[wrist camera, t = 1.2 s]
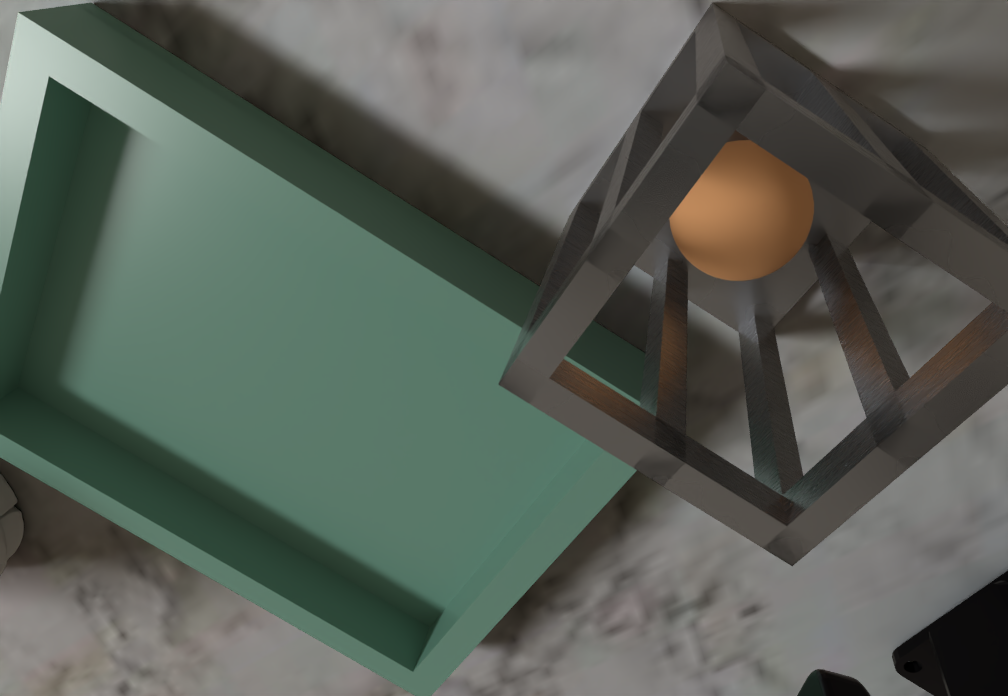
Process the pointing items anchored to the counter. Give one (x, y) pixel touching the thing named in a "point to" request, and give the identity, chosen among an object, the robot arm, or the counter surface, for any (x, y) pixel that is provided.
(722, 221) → the ball
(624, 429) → the cage
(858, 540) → the counter surface
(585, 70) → the counter surface
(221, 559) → the tray
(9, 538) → the mug
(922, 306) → the counter surface
